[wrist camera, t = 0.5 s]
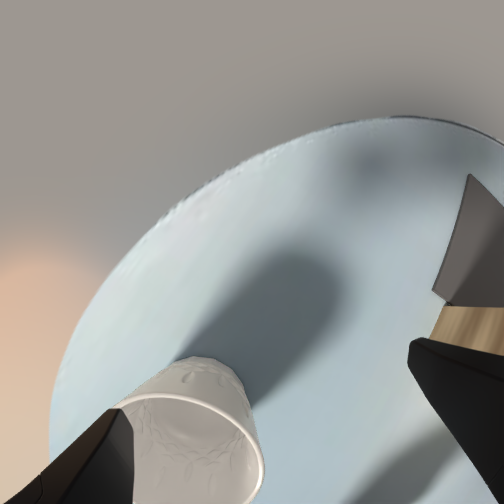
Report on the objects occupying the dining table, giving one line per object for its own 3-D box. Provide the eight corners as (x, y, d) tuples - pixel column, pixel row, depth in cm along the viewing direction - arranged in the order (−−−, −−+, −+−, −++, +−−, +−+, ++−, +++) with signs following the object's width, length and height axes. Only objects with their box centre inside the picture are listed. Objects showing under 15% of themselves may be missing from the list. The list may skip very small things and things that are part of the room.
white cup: (197, 325, 21) (163, 355, 11) (275, 396, 20) (301, 466, 11) (131, 393, 20) (70, 449, 10) (205, 457, 20) (190, 539, 10)
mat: (537, 251, 23) (539, 250, 23) (510, 352, 22) (512, 353, 21) (468, 175, 24) (470, 173, 23) (431, 290, 22) (434, 290, 22)
